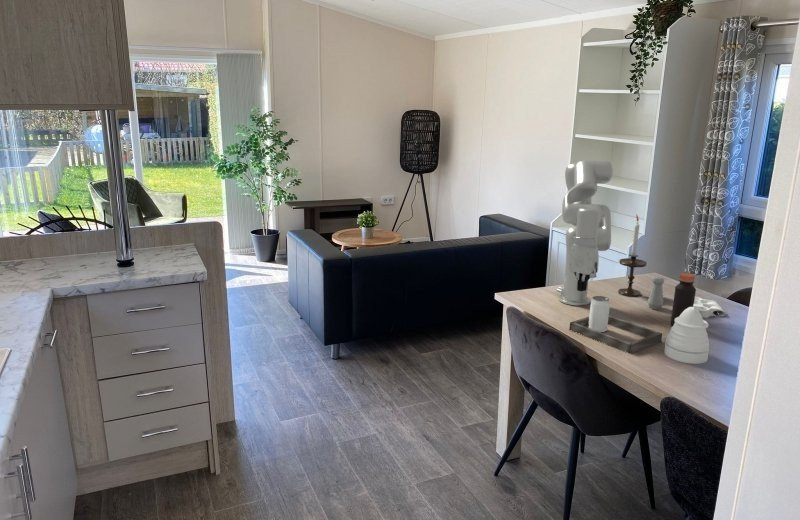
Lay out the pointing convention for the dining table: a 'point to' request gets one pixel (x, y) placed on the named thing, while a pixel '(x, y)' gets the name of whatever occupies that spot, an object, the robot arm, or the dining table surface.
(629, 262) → the candlestick
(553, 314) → the dining table surface
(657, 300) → the salt shaker
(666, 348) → the honey pot
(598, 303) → the can
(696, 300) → the white crumpled cloth
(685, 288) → the bottle
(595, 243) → the robot arm
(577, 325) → the frame
